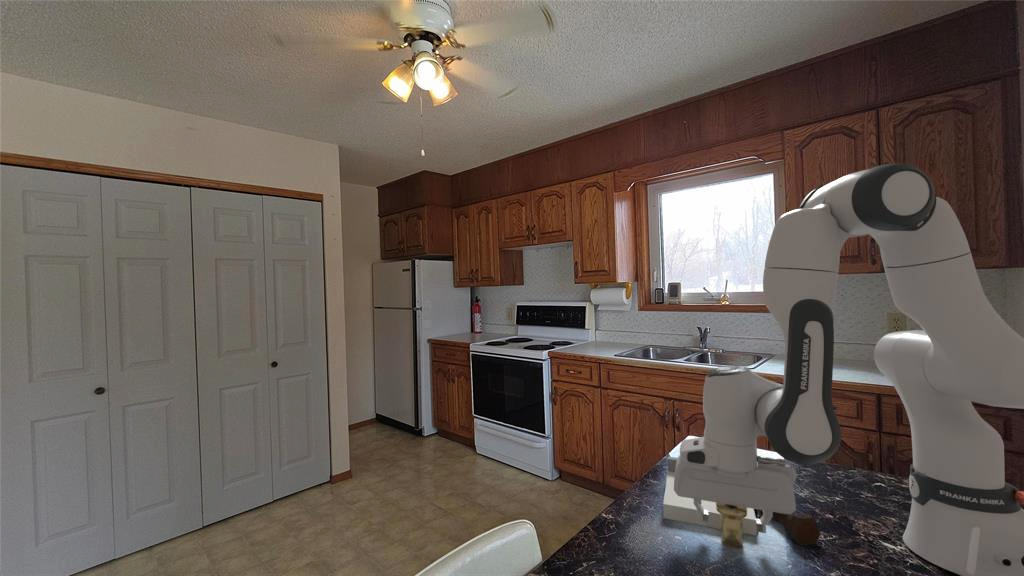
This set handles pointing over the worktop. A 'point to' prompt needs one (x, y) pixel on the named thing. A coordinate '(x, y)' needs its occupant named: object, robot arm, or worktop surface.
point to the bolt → (799, 527)
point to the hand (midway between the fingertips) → (731, 525)
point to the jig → (688, 512)
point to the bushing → (731, 524)
